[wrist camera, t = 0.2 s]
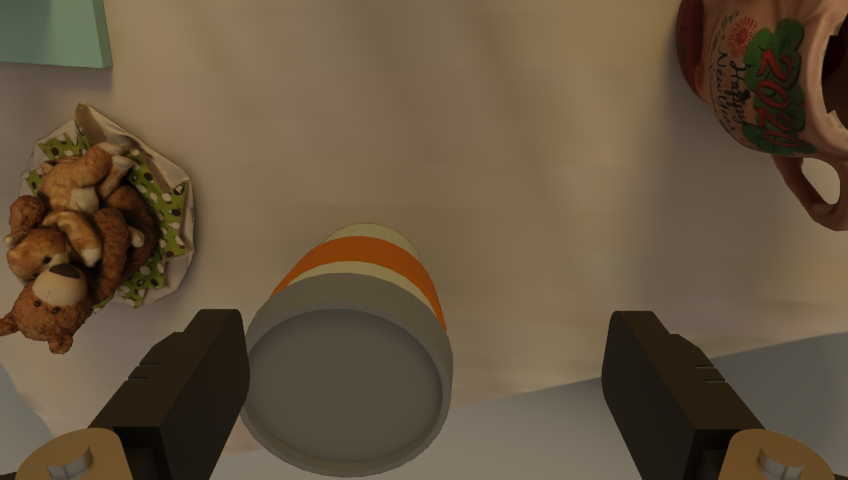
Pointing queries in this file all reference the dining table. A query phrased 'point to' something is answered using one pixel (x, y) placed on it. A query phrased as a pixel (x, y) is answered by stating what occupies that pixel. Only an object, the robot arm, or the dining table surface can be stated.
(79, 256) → the bear figurine
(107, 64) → the baseplate
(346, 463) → the reusable coffee cup
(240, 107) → the dining table surface
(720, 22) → the brown ceramic mug
